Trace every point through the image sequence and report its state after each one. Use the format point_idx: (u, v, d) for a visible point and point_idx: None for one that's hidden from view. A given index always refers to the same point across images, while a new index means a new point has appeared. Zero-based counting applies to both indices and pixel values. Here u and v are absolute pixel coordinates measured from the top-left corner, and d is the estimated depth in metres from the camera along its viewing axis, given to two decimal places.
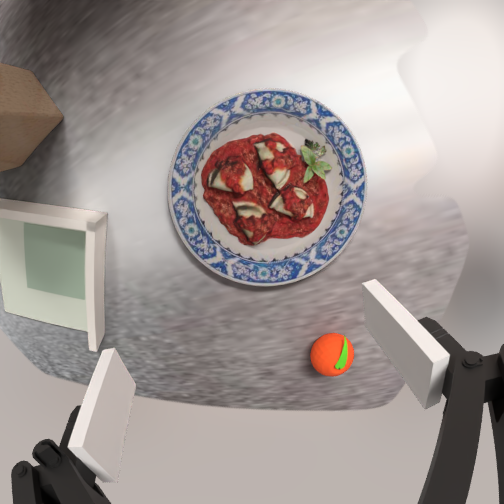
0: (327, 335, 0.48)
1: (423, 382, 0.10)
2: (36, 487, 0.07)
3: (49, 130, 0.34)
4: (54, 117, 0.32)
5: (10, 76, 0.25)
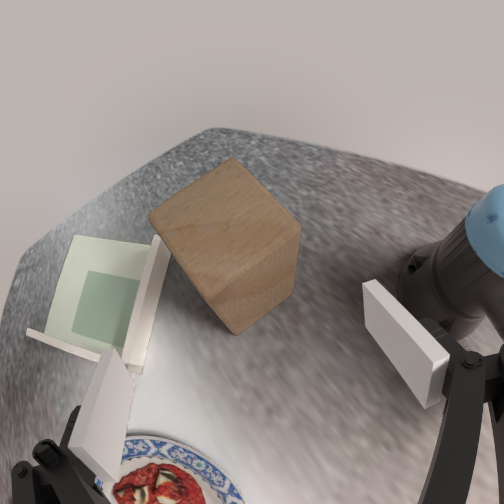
0: None
1: (423, 382, 0.10)
2: (36, 487, 0.07)
3: None
4: (233, 332, 0.40)
5: (276, 290, 0.37)
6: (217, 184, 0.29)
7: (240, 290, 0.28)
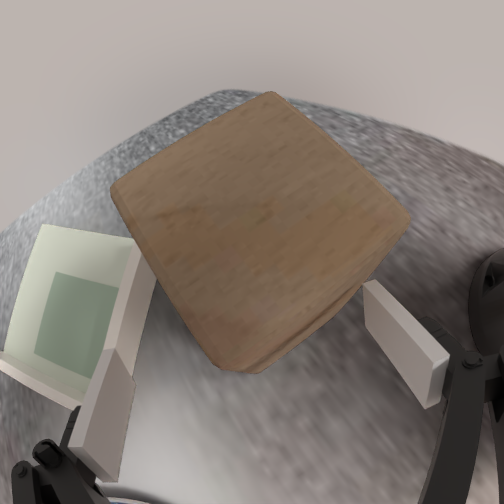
0: None
1: (423, 382, 0.10)
2: (36, 487, 0.07)
3: None
4: None
5: (326, 317, 0.23)
6: (244, 131, 0.14)
7: (285, 336, 0.14)
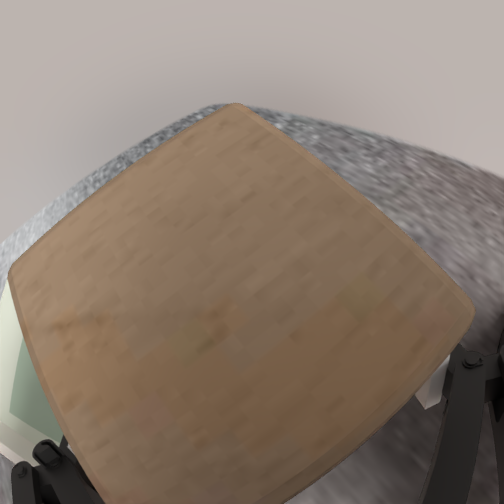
0: None
1: None
2: (36, 487, 0.07)
3: None
4: None
5: None
6: (186, 172, 0.09)
7: None
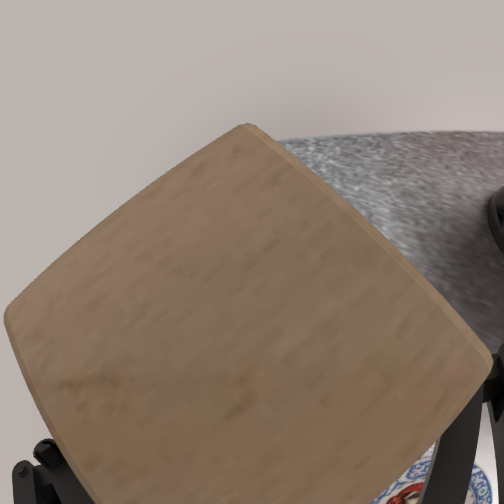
0: None
1: None
2: (37, 487, 0.07)
3: None
4: None
5: None
6: (198, 210, 0.08)
7: None
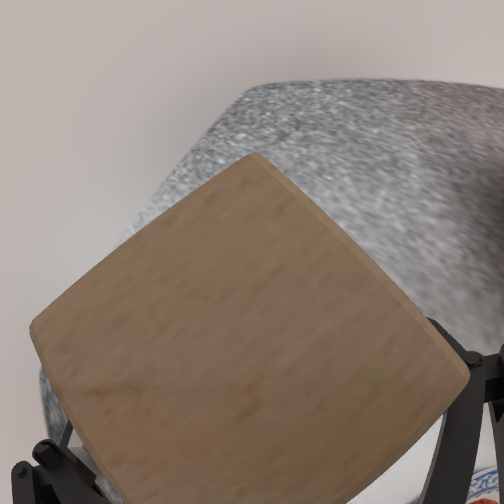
0: None
1: None
2: (36, 487, 0.07)
3: None
4: None
5: None
6: (211, 238, 0.09)
7: None
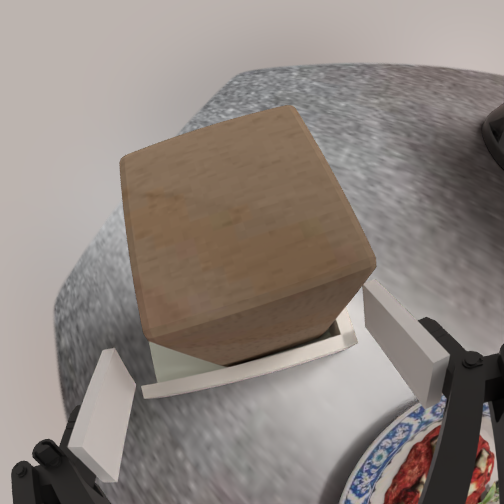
0: None
1: (423, 382, 0.10)
2: (36, 487, 0.07)
3: None
4: None
5: (297, 335, 0.23)
6: (249, 137, 0.15)
7: (227, 336, 0.15)
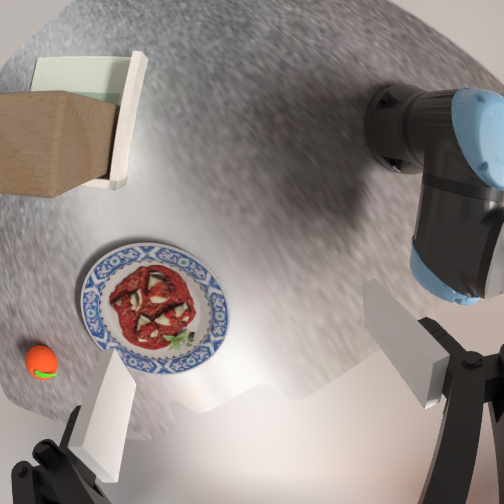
0: (54, 357, 0.52)
1: (423, 382, 0.10)
2: (36, 487, 0.07)
3: None
4: None
5: None
6: (33, 111, 0.22)
7: None
